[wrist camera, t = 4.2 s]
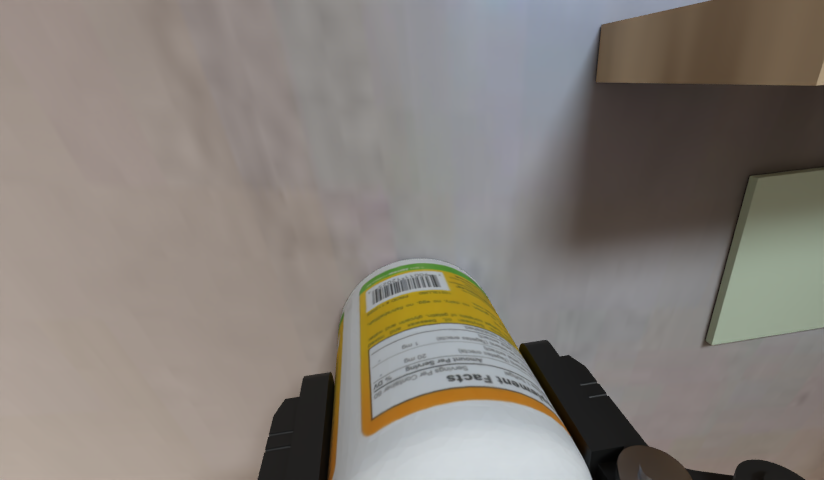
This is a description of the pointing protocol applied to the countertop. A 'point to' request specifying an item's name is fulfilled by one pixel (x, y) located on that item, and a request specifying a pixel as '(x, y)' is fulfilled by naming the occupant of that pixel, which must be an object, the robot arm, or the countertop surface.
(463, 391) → the supplement bottle
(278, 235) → the countertop surface
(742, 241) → the pad
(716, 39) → the oak corner walls
